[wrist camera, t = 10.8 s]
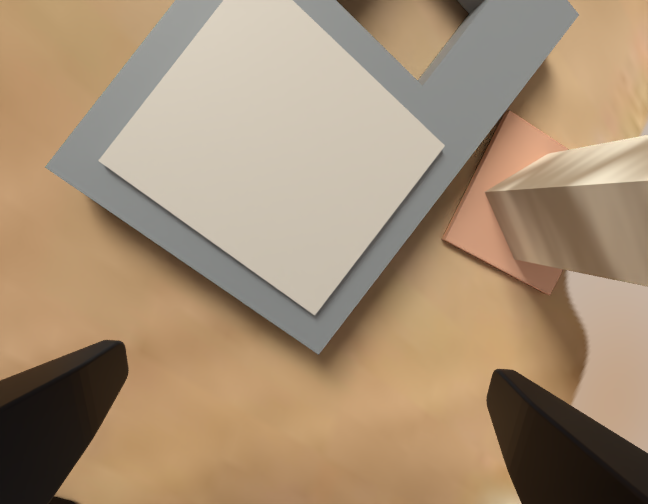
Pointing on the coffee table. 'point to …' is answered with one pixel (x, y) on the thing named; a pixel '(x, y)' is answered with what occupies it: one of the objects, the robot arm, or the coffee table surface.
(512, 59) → the puzzle board
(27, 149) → the coffee table surface
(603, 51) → the coffee table surface
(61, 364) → the robot arm
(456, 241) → the pad
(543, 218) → the block
